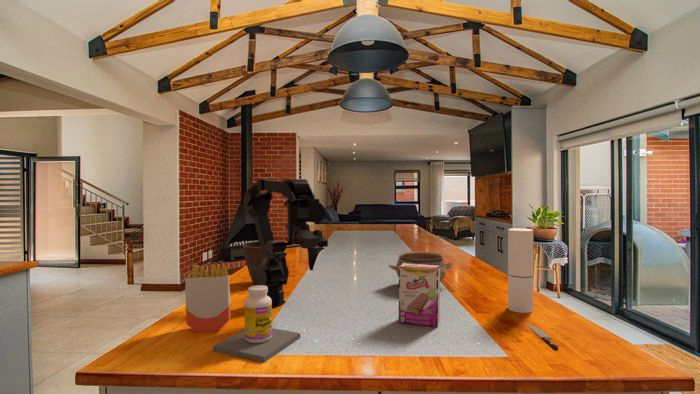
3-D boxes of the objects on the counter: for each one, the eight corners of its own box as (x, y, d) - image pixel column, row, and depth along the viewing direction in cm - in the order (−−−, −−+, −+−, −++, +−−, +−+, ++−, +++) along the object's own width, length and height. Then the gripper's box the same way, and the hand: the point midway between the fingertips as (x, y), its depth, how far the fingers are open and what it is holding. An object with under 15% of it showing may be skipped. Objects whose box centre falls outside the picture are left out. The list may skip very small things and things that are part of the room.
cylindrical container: (532, 307, 122) (533, 228, 121) (533, 314, 115) (533, 231, 114) (508, 304, 125) (508, 227, 124) (507, 311, 118) (507, 230, 117)
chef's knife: (533, 323, 109) (522, 322, 109) (533, 319, 109) (522, 318, 109) (567, 352, 90) (554, 351, 90) (567, 347, 90) (554, 346, 90)
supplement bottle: (253, 346, 90) (253, 292, 90) (239, 339, 95) (238, 287, 95) (277, 338, 95) (276, 287, 95) (262, 331, 100) (262, 282, 100)
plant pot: (277, 288, 147) (276, 246, 146) (238, 288, 147) (237, 247, 147) (284, 278, 162) (283, 241, 161) (249, 279, 162) (248, 241, 162)
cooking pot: (443, 279, 158) (443, 250, 157) (461, 292, 139) (461, 259, 139) (383, 282, 155) (383, 252, 155) (394, 295, 136) (394, 261, 136)
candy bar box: (398, 323, 108) (397, 266, 108) (401, 317, 113) (401, 262, 112) (438, 328, 104) (438, 268, 104) (440, 322, 109) (440, 264, 109)
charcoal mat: (213, 350, 91) (212, 345, 91) (253, 329, 105) (253, 324, 105) (264, 362, 85) (264, 356, 85) (300, 337, 99) (300, 333, 99)
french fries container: (190, 327, 107) (189, 262, 106) (230, 324, 109) (229, 261, 108) (186, 333, 102) (185, 266, 102) (228, 330, 104) (227, 264, 104)
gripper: (281, 224, 103) (282, 282, 103) (338, 220, 114) (338, 272, 115) (263, 222, 112) (264, 275, 112) (317, 218, 123) (318, 266, 123)
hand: (298, 272), depth 115 cm, fingers open, 9 cm apart
